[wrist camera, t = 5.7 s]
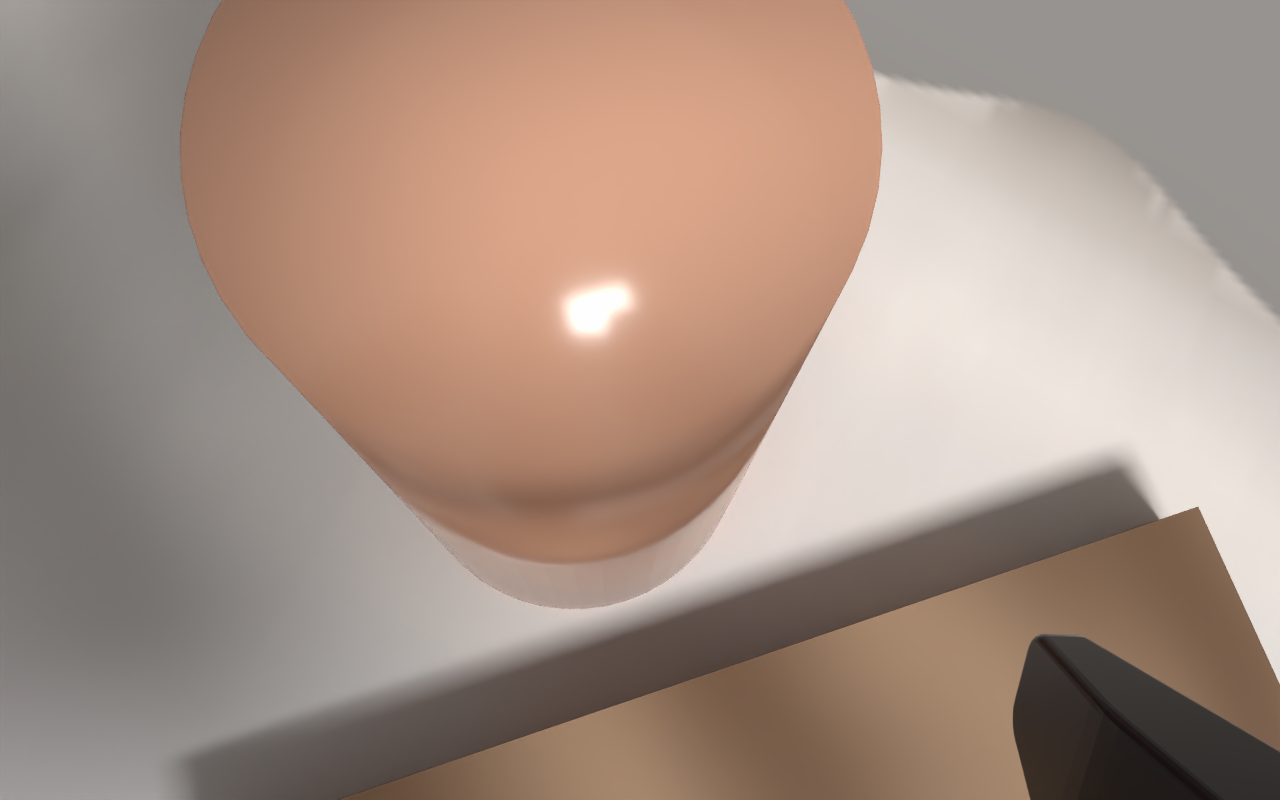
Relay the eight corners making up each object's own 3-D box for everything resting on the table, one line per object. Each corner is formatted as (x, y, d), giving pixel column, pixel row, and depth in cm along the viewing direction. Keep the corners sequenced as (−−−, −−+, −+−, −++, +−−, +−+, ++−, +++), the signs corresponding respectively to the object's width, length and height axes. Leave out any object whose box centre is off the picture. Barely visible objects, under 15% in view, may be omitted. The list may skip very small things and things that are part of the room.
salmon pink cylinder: (465, 653, 22) (273, 562, 10) (377, 347, 24) (113, -76, 11) (782, 549, 23) (990, 335, 10) (677, 257, 24) (744, -237, 12)
